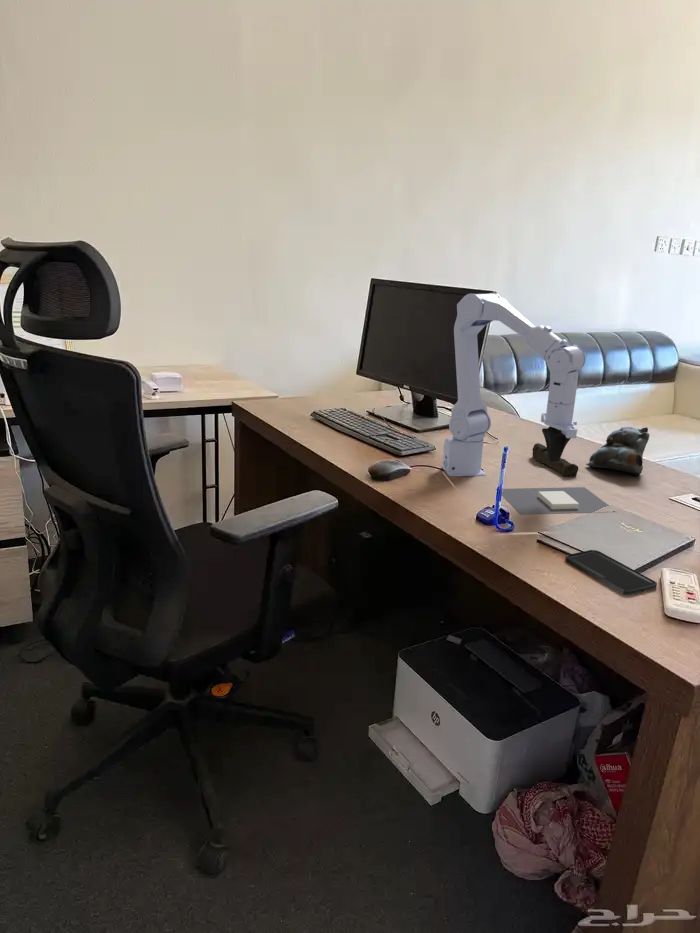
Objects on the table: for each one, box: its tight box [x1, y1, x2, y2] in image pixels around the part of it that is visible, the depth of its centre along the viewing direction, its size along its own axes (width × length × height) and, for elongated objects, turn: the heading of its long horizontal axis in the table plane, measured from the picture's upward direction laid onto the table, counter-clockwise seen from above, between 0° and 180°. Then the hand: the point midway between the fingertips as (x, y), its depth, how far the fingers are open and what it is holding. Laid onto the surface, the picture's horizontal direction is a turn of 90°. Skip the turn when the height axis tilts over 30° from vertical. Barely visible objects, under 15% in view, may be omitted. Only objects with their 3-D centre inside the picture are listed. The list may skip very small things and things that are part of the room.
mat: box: [495, 486, 610, 516], centre depth 153 cm, size 22×16×1 cm
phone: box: [564, 549, 658, 596], centre depth 119 cm, size 8×1×15 cm
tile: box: [538, 491, 579, 509], centre depth 151 cm, size 6×1×8 cm
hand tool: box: [532, 442, 579, 478], centre depth 177 cm, size 19×4×5 cm, turn 12°
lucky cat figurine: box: [585, 426, 650, 477], centre depth 175 cm, size 15×12×14 cm
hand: (553, 460), depth 153 cm, fingers closed
